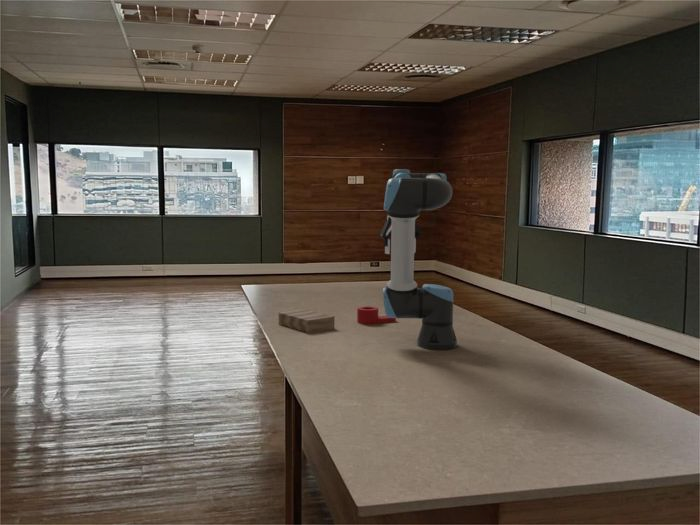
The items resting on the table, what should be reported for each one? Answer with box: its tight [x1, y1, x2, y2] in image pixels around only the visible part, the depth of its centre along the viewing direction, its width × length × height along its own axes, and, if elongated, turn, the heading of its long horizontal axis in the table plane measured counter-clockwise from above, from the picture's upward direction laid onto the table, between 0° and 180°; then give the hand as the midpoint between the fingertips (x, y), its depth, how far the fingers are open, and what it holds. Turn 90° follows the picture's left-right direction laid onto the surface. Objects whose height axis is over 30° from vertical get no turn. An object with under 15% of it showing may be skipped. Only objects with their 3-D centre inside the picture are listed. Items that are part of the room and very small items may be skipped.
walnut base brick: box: [278, 308, 336, 333], centre depth 272 cm, size 22×14×6 cm, turn 39°
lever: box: [356, 306, 397, 325], centre depth 284 cm, size 18×9×7 cm, turn 105°
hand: (400, 253), depth 277 cm, fingers open, 13 cm apart
